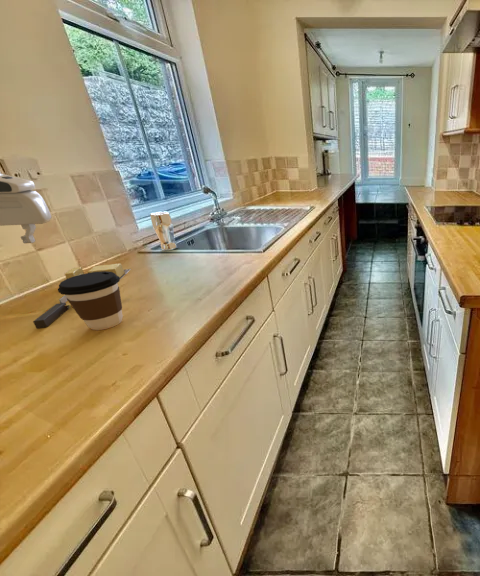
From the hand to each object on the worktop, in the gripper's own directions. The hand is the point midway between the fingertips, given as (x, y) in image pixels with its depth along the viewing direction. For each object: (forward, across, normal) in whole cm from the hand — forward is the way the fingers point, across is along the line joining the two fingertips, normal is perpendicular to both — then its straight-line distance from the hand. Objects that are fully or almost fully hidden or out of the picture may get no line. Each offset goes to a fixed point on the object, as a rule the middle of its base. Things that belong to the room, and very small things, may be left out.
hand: (4, 244), depth 76 cm
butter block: (+17, +9, +19) cm, 27 cm away
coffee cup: (+18, +19, -13) cm, 30 cm away
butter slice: (+17, +1, +19) cm, 26 cm away
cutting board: (+19, +6, +19) cm, 27 cm away
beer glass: (+19, +18, +55) cm, 61 cm away
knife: (+19, +5, +1) cm, 19 cm away
